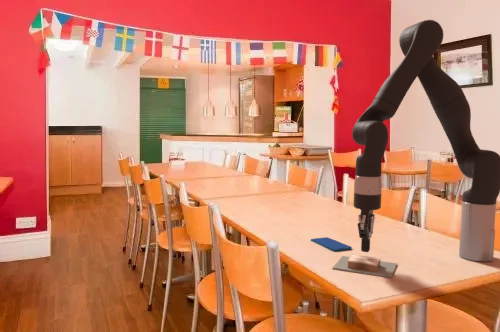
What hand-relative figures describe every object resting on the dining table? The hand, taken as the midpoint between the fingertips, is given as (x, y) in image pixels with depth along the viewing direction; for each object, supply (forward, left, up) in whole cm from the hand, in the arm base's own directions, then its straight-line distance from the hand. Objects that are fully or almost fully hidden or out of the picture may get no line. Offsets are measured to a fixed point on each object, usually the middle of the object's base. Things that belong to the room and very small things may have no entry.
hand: (365, 251), depth 129 cm
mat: (0, 0, -4) cm, 5 cm away
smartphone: (+15, -18, -5) cm, 24 cm away
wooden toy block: (0, -2, -3) cm, 3 cm away
